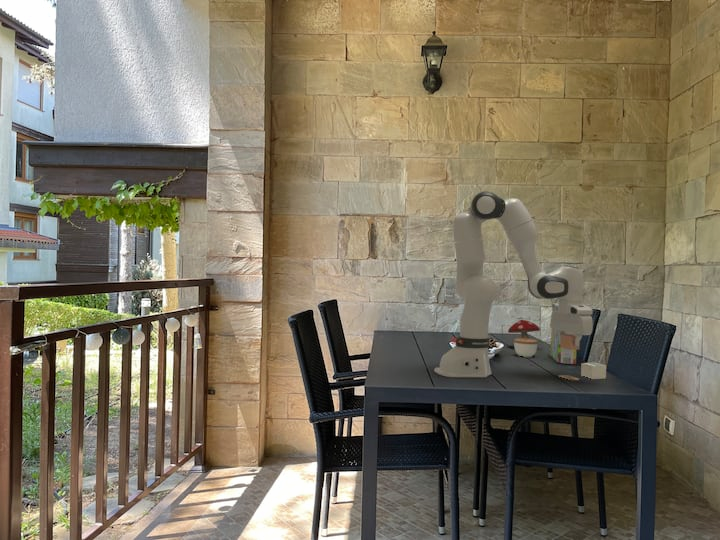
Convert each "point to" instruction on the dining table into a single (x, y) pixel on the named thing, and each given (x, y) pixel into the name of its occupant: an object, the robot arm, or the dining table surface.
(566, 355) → the snack box
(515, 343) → the lidded jar
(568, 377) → the stub mat
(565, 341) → the stub
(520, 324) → the decorative mushroom
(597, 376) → the block
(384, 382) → the dining table surface
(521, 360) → the dining table surface
